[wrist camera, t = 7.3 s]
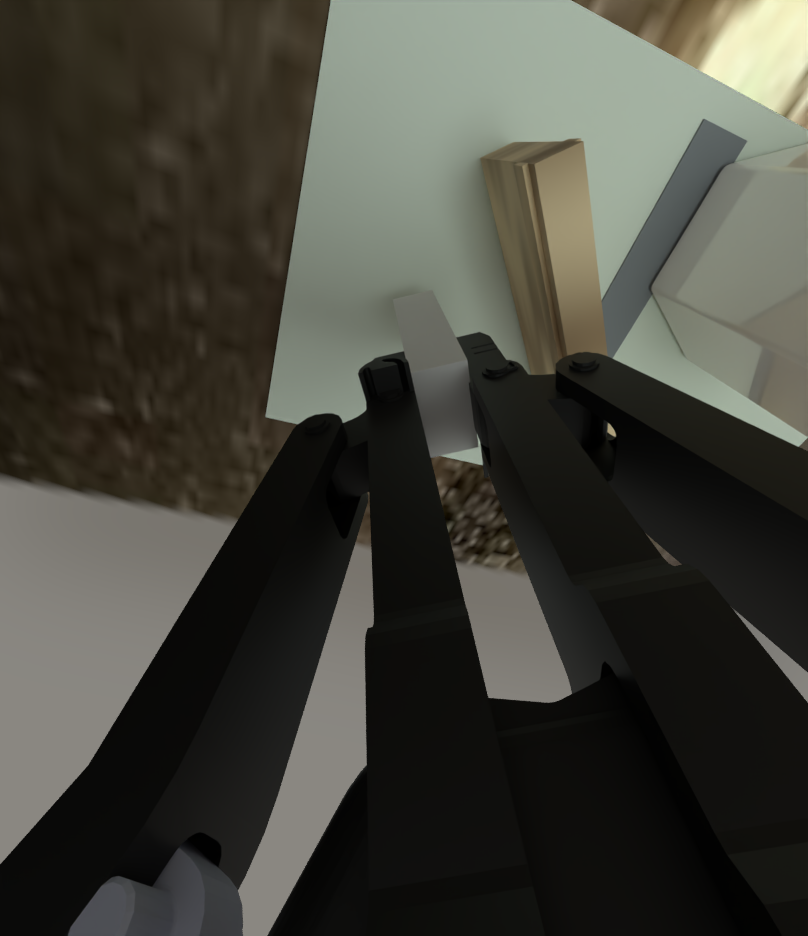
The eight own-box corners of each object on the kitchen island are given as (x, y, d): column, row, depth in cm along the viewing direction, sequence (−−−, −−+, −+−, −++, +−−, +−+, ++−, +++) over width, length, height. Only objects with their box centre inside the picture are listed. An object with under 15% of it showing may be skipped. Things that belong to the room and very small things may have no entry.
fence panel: (566, 400, 21) (624, 471, 17) (536, 411, 22) (586, 485, 17) (517, 139, 15) (589, 137, 10) (476, 159, 15) (528, 166, 11)
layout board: (266, 414, 21) (264, 418, 21) (349, -116, 12) (349, -123, 12) (723, 515, 28) (727, 520, 28) (997, 237, 19) (1009, 238, 19)
